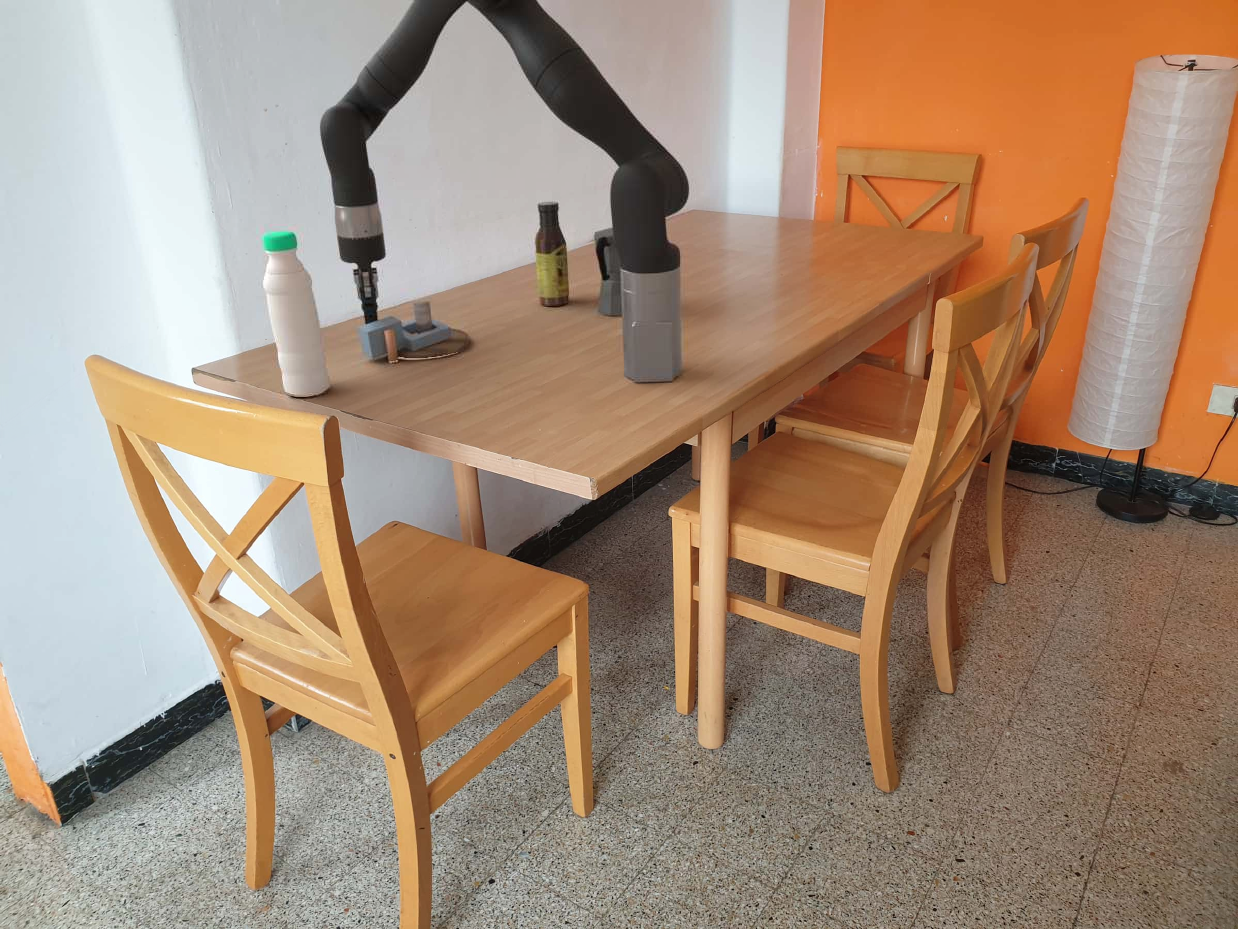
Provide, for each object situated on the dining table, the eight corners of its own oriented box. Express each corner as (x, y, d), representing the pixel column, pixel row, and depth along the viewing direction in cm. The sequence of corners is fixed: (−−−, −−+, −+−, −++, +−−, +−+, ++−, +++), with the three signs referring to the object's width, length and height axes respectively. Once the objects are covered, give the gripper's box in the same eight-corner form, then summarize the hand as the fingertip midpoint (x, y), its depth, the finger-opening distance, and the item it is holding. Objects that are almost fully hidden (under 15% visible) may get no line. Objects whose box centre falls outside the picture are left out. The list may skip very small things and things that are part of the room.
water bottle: (314, 380, 157) (285, 226, 146) (340, 389, 153) (312, 231, 142) (276, 393, 152) (243, 235, 141) (301, 402, 148) (270, 240, 137)
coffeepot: (612, 299, 194) (608, 209, 187) (655, 303, 191) (653, 211, 183) (579, 320, 182) (573, 225, 174) (624, 325, 178) (620, 227, 170)
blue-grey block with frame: (428, 325, 174) (423, 299, 172) (452, 337, 169) (448, 310, 167) (356, 349, 166) (351, 323, 164) (379, 363, 161) (374, 336, 159)
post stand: (462, 358, 164) (457, 313, 160) (375, 361, 164) (368, 316, 161) (475, 332, 177) (470, 290, 174) (394, 335, 178) (388, 293, 174)
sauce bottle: (565, 307, 190) (558, 206, 182) (535, 307, 192) (527, 206, 183) (573, 298, 196) (567, 200, 188) (544, 298, 197) (536, 200, 189)
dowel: (397, 362, 163) (392, 331, 161) (387, 363, 163) (383, 332, 161) (399, 359, 165) (394, 329, 162) (390, 360, 165) (385, 329, 162)
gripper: (385, 237, 154) (397, 340, 162) (380, 221, 166) (392, 317, 173) (336, 241, 152) (351, 344, 160) (336, 224, 164) (349, 321, 171)
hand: (372, 330), depth 167 cm, fingers closed
